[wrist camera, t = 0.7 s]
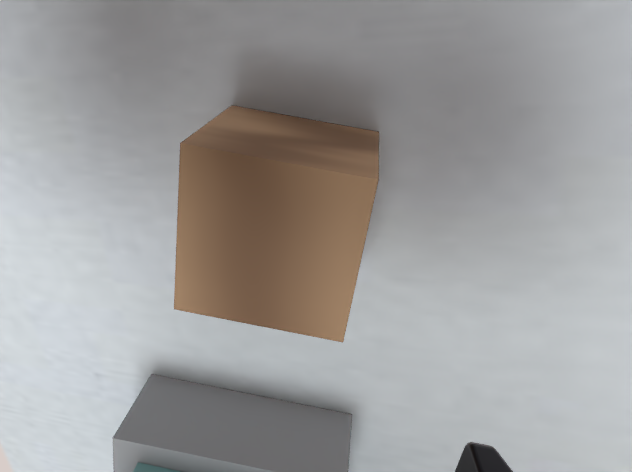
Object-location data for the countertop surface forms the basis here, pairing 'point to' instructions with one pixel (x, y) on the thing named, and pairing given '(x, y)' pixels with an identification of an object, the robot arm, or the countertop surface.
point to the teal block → (151, 468)
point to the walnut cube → (274, 220)
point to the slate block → (228, 432)
